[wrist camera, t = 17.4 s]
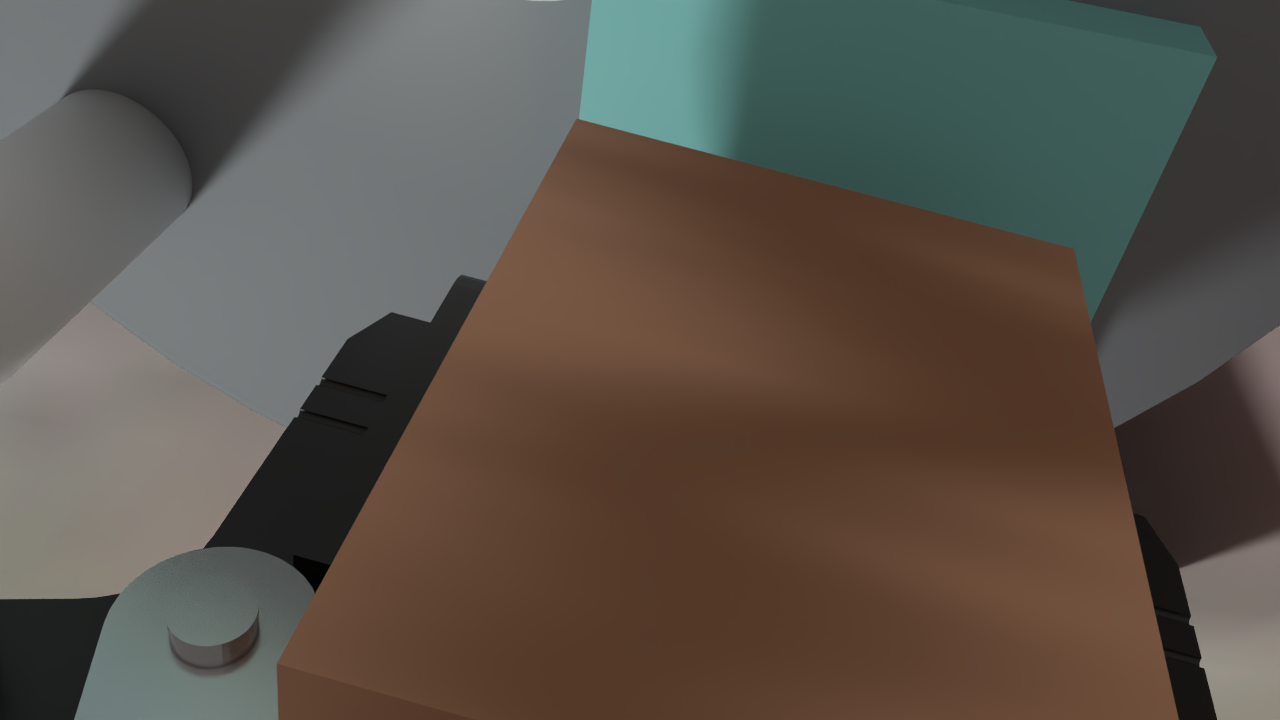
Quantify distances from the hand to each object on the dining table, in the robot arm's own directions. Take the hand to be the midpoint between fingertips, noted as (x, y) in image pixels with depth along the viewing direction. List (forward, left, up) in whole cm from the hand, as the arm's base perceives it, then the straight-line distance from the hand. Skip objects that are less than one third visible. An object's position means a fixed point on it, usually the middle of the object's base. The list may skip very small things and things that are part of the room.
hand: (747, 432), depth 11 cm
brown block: (0, 0, -1) cm, 1 cm away
